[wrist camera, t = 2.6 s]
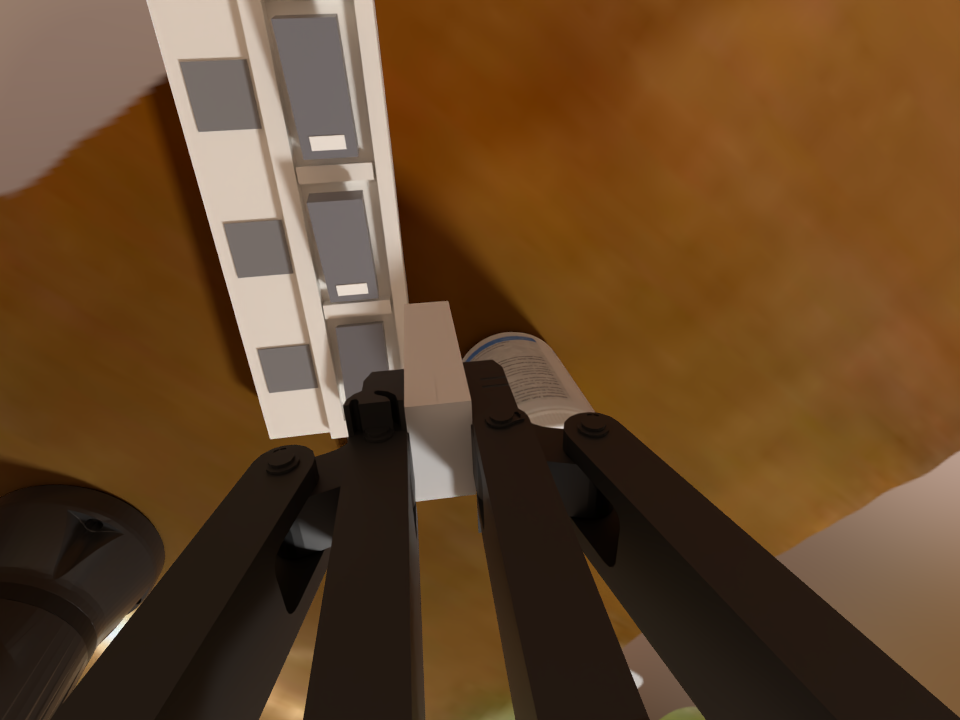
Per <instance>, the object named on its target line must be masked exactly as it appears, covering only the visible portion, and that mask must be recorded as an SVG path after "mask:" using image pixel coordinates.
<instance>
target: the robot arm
mask: <svg viewBox="0 0 960 720" xmlns="http://www.w3.org/2000/svg"><path fill="white" fill-rule="evenodd" d="M343 409H344V414H345V420H346V425H347V431H348V436H349V437H348V443H347V444H346V445H344V446H342V447H341V448H339V449H337V450H334V451H332V452H329V453H326V454H323V455H320V456H317V457H315V456H314V453H313V451H312V450H310V449H309V448H307V447H306V446H300V445H287V446H281V447H277V448H274V449H272V450H270V451H268V452H266V453H264V454H262V455H261V456H260V457H258V458H257V459H256V460H255V461H254V462H253V463H252V464H251V466H250V467H249V468H248V469H247V471H246V472H245V473H244V475H243V476H242V477H241V478H240V480H239V481H238V482H237V483H236V485H235V486H234V487H233V488H232V490H231V491H230V492H229V494H228V495H227V496H226V497H225V499H224V500H223V501H222V502H221V504H220V505H219V506H218V508H217V509H216V510H215V511H214V513H213V514H212V515H211V516H210V518H209V519H208V520H207V521H206V523H205V524H204V525H203V527H202V528H201V529H200V530H199V532H198V533H197V534H196V535H195V537H194V538H193V539H192V540H191V542H190V543H189V544H188V546H187V547H186V548H185V549H184V551H183V552H182V553H181V554H180V556H179V557H178V558H177V559H176V561H175V562H174V563H173V565H172V566H171V567H170V568H169V570H168V571H167V572H166V573H165V575H164V576H163V577H162V578H161V580H160V581H159V582H158V584H157V585H156V586H155V587H154V589H153V590H152V588H153V586H154V584H155V582H156V581H157V579H158V577H159V575H160V573H161V571H162V568H163V565H164V560H165V551H164V546H163V542H162V540H161V537H160V535H159V533H158V532H157V530H156V529H155V527H154V526H153V525H152V524H151V523H150V521H149V520H148V519H147V518H146V517H145V516H143V515H142V514H141V513H140V512H139V511H137V510H136V509H134V508H133V507H131V506H130V505H128V504H127V503H125V502H123V501H121V500H119V499H117V498H115V497H112V496H110V495H107V494H105V493H102V492H99V491H95V490H91V489H87V488H82V487H76V486H68V485H42V486H34V487H28V488H24V489H20V490H17V491H14V492H11V493H9V494H7V495H5V496H3V497H1V498H0V720H259V718H260V716H261V713H262V711H263V709H264V707H265V705H266V702H267V700H268V698H269V696H270V694H271V691H272V689H273V687H274V685H275V683H276V680H277V678H278V676H279V674H280V671H281V669H282V667H283V665H284V663H285V660H286V658H287V656H288V654H289V652H290V649H291V647H292V645H293V643H294V640H295V638H296V636H297V634H298V632H299V629H300V627H301V625H302V623H303V621H304V618H305V616H306V614H307V612H308V609H309V607H310V605H311V603H312V601H313V598H314V596H315V594H316V592H317V590H318V587H319V585H320V583H321V581H322V578H323V576H324V574H325V572H326V570H327V574H326V581H325V587H324V593H323V599H322V606H321V612H320V618H319V624H318V631H317V637H316V643H315V649H314V655H313V662H312V668H311V674H310V680H309V687H308V693H307V699H306V705H305V711H304V718H303V720H425V699H424V673H423V647H422V621H421V595H420V569H419V543H418V517H417V509H416V501H424V500H432V499H440V498H449V497H457V496H465V495H474V494H476V491H477V508H478V529H479V533H480V532H482V537H483V542H484V548H485V553H486V559H487V564H488V570H489V575H490V581H491V587H492V592H493V598H494V603H495V609H496V614H497V620H498V625H499V631H500V636H501V642H502V648H503V653H504V659H505V664H506V670H507V675H508V681H509V686H510V692H511V698H512V703H513V709H514V714H515V720H650V719H649V717H648V715H647V712H646V709H645V707H644V705H643V702H642V699H641V697H640V694H639V692H638V689H637V687H636V684H635V682H634V679H633V677H632V674H631V672H630V669H629V667H628V664H627V662H626V659H625V657H624V654H623V652H622V649H621V647H620V644H619V642H618V639H617V637H616V634H615V632H614V629H613V627H612V624H611V622H610V619H609V617H608V614H607V612H606V609H605V607H604V604H603V602H602V599H601V597H600V594H599V592H598V589H597V587H596V584H595V582H594V579H593V577H592V574H591V572H590V569H589V567H588V564H587V561H586V559H585V556H584V554H585V555H586V557H587V558H588V559H589V561H590V562H591V563H592V565H593V566H594V567H595V569H596V570H597V572H598V573H599V574H600V576H601V577H602V578H603V580H604V581H605V582H606V584H607V585H608V587H609V588H610V589H611V591H612V592H613V593H614V595H615V596H616V597H617V599H618V600H619V602H620V603H621V604H622V606H623V607H624V608H625V610H626V611H627V612H628V614H629V615H630V617H631V618H632V619H633V621H634V622H635V623H636V625H637V626H638V628H639V629H640V630H641V632H642V633H643V634H644V636H645V637H646V638H647V640H648V641H649V643H650V644H651V645H652V647H653V648H654V649H655V651H656V652H657V653H658V655H659V656H660V658H661V659H662V660H663V662H664V663H665V664H666V666H667V667H668V668H669V670H670V671H671V673H672V674H673V675H674V677H675V678H676V679H677V681H678V682H679V683H680V685H681V686H682V688H683V689H684V690H685V692H686V693H687V694H688V696H689V697H690V698H691V700H692V701H693V702H694V704H695V705H696V707H697V708H698V709H699V711H700V712H701V713H702V715H703V716H704V718H705V719H706V720H960V718H959V717H958V716H957V715H956V714H955V713H953V712H952V711H951V710H950V709H949V708H948V707H947V706H945V705H944V704H943V703H942V702H941V701H940V700H939V699H937V698H936V697H935V696H934V695H933V694H931V693H930V692H929V691H928V690H927V689H926V688H925V687H924V686H922V685H921V684H920V683H919V682H918V681H917V680H915V679H914V678H913V677H912V676H911V675H910V674H909V673H907V672H906V671H905V670H904V669H903V668H901V666H899V665H898V664H897V663H896V662H894V660H892V659H891V658H890V657H889V656H888V655H887V654H886V653H884V652H883V651H882V650H881V649H880V648H879V647H877V646H876V645H875V644H874V643H873V642H872V641H870V640H869V639H868V638H867V637H866V636H865V635H863V634H862V633H861V632H860V631H859V630H858V629H857V628H855V627H854V626H853V625H852V624H851V623H850V622H849V621H847V620H846V619H845V618H844V617H843V616H842V615H841V614H839V613H838V612H837V611H836V610H835V609H833V608H832V607H831V606H830V605H829V604H828V603H827V602H826V601H824V600H823V599H822V598H821V597H820V596H819V595H817V594H816V593H815V592H814V591H813V590H812V589H811V588H809V587H808V586H807V585H806V584H805V583H804V582H802V581H801V580H800V579H799V578H798V577H797V576H795V575H794V574H793V573H792V572H791V571H790V570H789V569H787V568H786V567H785V566H784V565H783V564H782V563H781V562H779V561H778V560H777V559H776V558H775V557H774V556H772V555H771V554H770V553H769V552H768V551H767V550H766V549H764V548H763V547H762V546H761V545H760V544H759V543H757V542H756V541H755V540H754V539H753V538H752V537H751V536H749V535H748V534H747V533H746V532H745V531H744V530H742V529H741V528H740V527H739V526H738V525H737V524H736V523H734V522H733V521H732V520H731V519H730V518H729V517H728V516H726V515H725V514H724V513H723V512H722V511H721V510H719V509H718V508H717V507H716V506H715V505H714V504H713V503H711V502H710V501H709V500H708V499H707V498H706V497H704V496H703V495H702V494H701V493H700V492H699V491H698V490H696V489H695V488H694V487H693V486H692V485H691V484H689V483H688V482H687V481H686V480H685V479H684V478H683V477H681V476H680V475H679V474H678V473H677V472H676V471H674V470H673V469H672V468H671V467H670V466H669V465H668V464H666V463H665V462H664V461H663V460H662V459H661V458H659V457H658V456H657V455H656V454H655V453H654V452H653V451H651V450H650V449H649V448H648V447H647V446H646V445H644V444H643V443H642V442H641V441H640V440H639V439H638V438H636V437H635V436H634V435H633V434H632V433H631V432H629V431H628V430H627V429H626V428H625V427H624V426H623V425H621V424H620V423H619V422H618V421H616V420H615V419H613V418H612V417H610V416H607V415H604V414H601V413H595V412H594V413H593V412H585V413H577V414H575V415H573V416H570V417H569V418H568V419H567V420H566V421H565V422H564V429H560V428H550V427H543V426H539V425H536V424H533V423H531V421H530V419H529V417H528V415H527V414H526V413H525V412H524V411H522V410H520V409H519V408H518V406H517V404H516V401H515V398H514V396H513V393H512V391H511V388H510V385H509V383H508V380H507V378H506V375H505V372H504V369H503V367H502V366H501V365H499V364H498V363H497V362H495V361H494V360H482V361H471V362H462V358H461V354H460V349H459V345H458V341H457V336H456V332H455V328H454V323H453V319H452V315H451V310H450V306H449V302H448V301H440V302H427V303H414V304H404V369H398V370H387V371H376V372H371V373H370V375H369V376H368V377H367V378H366V379H365V380H364V381H363V387H362V391H360V392H358V393H355V394H353V395H352V396H351V397H349V398H348V399H347V400H346V401H345V403H344V405H343ZM583 552H584V554H583ZM327 567H328V568H327ZM151 590H152V591H151ZM149 593H150V594H149ZM146 597H147V598H146ZM142 602H143V603H142ZM141 603H142V604H141ZM140 604H141V605H140ZM139 605H140V606H139ZM138 606H139V608H138V609H137V610H136V611H135V613H134V614H133V615H132V617H131V618H130V619H129V620H128V622H127V623H126V624H125V625H124V627H123V628H122V629H121V630H120V632H119V633H118V634H117V636H116V637H115V638H114V639H113V641H112V642H111V643H110V644H109V646H108V647H107V648H106V649H105V651H104V652H103V653H102V655H101V656H100V657H99V658H98V660H97V661H96V662H95V663H94V665H93V666H92V667H91V668H90V670H89V671H88V672H87V674H86V675H85V676H84V677H83V679H82V680H81V681H80V682H79V684H78V685H77V686H76V688H75V689H74V687H75V685H76V684H77V682H78V680H79V678H80V676H81V675H82V673H83V671H84V669H85V667H86V665H87V664H88V662H89V660H90V658H91V657H92V655H93V653H94V651H95V649H96V648H97V646H98V645H99V644H100V643H101V642H102V641H103V640H104V639H105V638H106V637H107V636H108V635H109V634H110V633H111V632H112V631H113V630H114V629H115V628H116V627H117V625H118V624H119V623H120V622H121V621H122V619H123V618H124V617H125V616H126V615H127V614H129V613H130V612H132V611H133V610H134V609H136V608H137V607H138ZM73 689H74V690H73Z"/></svg>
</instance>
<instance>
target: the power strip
mask: <svg viewBox="0 0 960 720" xmlns="http://www.w3.org/2000/svg"><path fill="white" fill-rule="evenodd" d="M146 2H147V5H148V9H149V13H150V16H151V19H152V23H153V27H154V30H155V34H156V37H157V40H158V44H159V48H160V51H161V55H162V58H163V62H164V66H165V69H166V73H167V76H168V80H169V83H170V87H171V90H172V94H173V97H174V101H175V104H176V108H177V112H178V115H179V119H180V122H181V126H182V129H183V133H184V136H185V140H186V143H187V147H188V150H189V154H190V157H191V161H192V165H193V168H194V172H195V175H196V179H197V182H198V186H199V189H200V193H201V196H202V200H203V203H204V207H205V211H206V214H207V218H208V221H209V225H210V228H211V232H212V235H213V239H214V242H215V246H216V249H217V253H218V256H219V260H220V264H221V267H222V271H223V274H224V278H225V281H226V285H227V288H228V292H229V295H230V299H231V302H232V306H233V309H234V313H235V317H236V320H237V324H238V327H239V331H240V334H241V338H242V341H243V345H244V348H245V352H246V355H247V359H248V363H249V366H250V370H251V373H252V377H253V380H254V384H255V387H256V391H257V394H258V398H259V401H260V405H261V408H262V412H263V416H264V419H265V423H266V426H267V430H268V433H269V437H270V439H275V438H283V437H292V436H300V435H309V434H317V433H326V432H330V433H331V438H332V439H335V438H343V437H347V440H348V437H349V436H348V431H347V425H346V420H345V414H344V409H343V405H344V403H345V401H346V398H345V391H344V384H343V377H342V370H341V363H340V356H339V349H338V342H337V335H336V327H337V326H338V325H345V324H355V323H366V322H376V321H383V322H384V331H385V339H386V347H387V355H388V363H389V370H398V369H404V304H409V298H408V290H407V281H406V272H405V264H404V255H403V246H402V238H401V229H400V220H399V211H398V203H397V194H396V185H395V177H394V168H393V159H392V150H391V142H390V133H389V124H388V116H387V107H386V98H385V89H384V81H383V72H382V63H381V55H380V46H379V37H378V29H377V20H376V11H375V2H374V0H146ZM304 14H337V15H338V21H339V27H340V34H341V40H342V46H343V52H344V59H345V65H346V71H347V77H348V84H349V90H350V96H351V102H352V109H353V115H354V121H355V127H356V134H357V140H358V146H359V154H358V157H345V158H328V159H312V160H304V159H303V155H302V150H301V146H300V142H299V138H298V133H297V129H296V125H295V120H294V116H293V112H292V107H291V103H290V99H289V95H288V90H287V86H286V82H285V77H284V73H283V69H282V64H281V60H280V56H279V52H278V47H277V43H276V39H275V34H274V30H273V26H272V21H271V19H272V18H273V17H274V16H275V15H304ZM354 190H363V195H364V202H365V208H366V214H367V220H368V226H369V232H370V238H371V244H372V250H373V256H374V263H375V269H376V275H377V281H378V287H379V298H376V299H365V300H354V301H342V302H330V298H329V294H328V289H327V285H326V281H325V277H324V273H323V269H322V265H321V261H320V256H319V252H318V248H317V244H316V240H315V236H314V232H313V228H312V223H311V219H310V215H309V211H308V207H307V199H308V196H309V193H324V192H339V191H354Z"/></svg>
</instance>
